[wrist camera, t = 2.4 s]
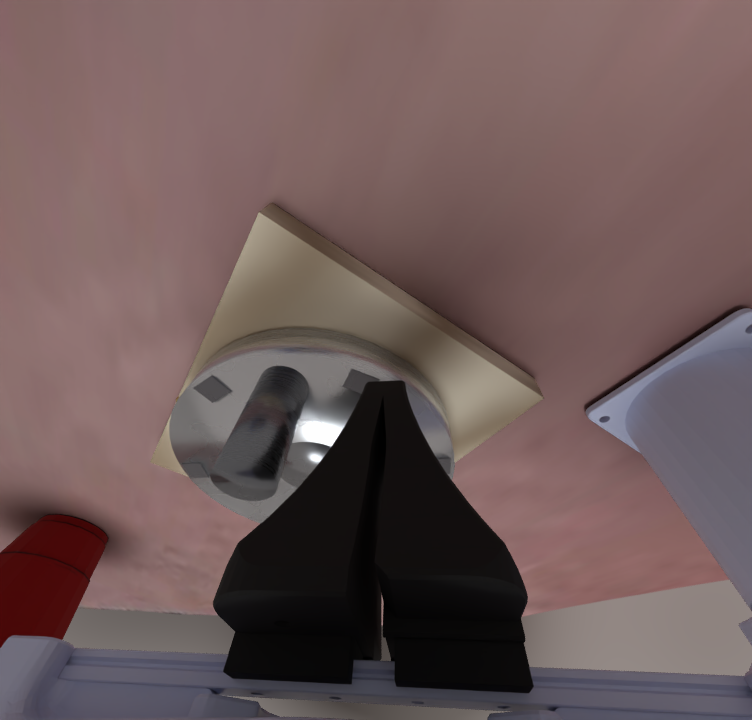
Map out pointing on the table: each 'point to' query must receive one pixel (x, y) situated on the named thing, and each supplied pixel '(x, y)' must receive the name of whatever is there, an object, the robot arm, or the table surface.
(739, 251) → the table surface
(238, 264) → the base board
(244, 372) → the metal disc with knob
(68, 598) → the plastic cup
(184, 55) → the table surface
